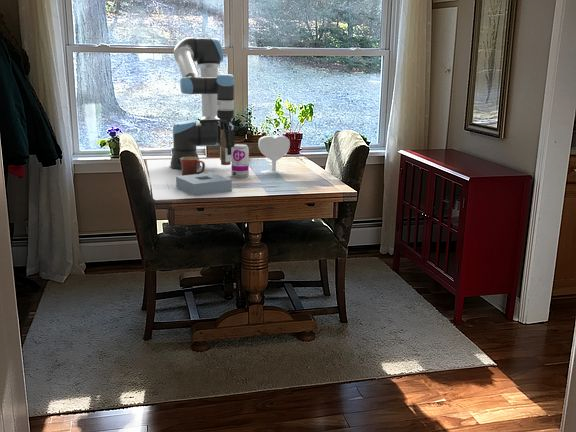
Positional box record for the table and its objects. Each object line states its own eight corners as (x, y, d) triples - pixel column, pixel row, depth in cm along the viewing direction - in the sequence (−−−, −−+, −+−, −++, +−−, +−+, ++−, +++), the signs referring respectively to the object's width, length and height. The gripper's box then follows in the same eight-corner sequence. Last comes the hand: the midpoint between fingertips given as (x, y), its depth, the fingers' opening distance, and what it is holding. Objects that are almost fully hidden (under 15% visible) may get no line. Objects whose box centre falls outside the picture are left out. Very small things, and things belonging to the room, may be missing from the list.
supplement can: (246, 178, 293) (246, 146, 289) (229, 177, 295) (229, 146, 291) (250, 174, 301) (250, 144, 297) (234, 173, 303) (234, 143, 299)
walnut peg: (219, 163, 284) (219, 129, 279) (227, 162, 286) (227, 128, 282) (223, 165, 281) (223, 130, 276) (232, 164, 283) (232, 129, 278)
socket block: (176, 187, 272) (175, 176, 270) (212, 183, 281) (212, 172, 280) (194, 195, 257) (193, 184, 256) (231, 190, 267) (231, 179, 266)
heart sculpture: (287, 170, 314) (288, 135, 309) (289, 172, 309) (290, 136, 304) (257, 171, 310) (257, 135, 305) (259, 173, 306) (259, 136, 301)
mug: (177, 181, 284) (176, 159, 282) (186, 177, 292) (185, 156, 290) (200, 183, 281) (200, 161, 278) (208, 179, 289) (208, 158, 286)
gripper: (209, 107, 281) (209, 158, 288) (227, 112, 267) (227, 164, 274) (223, 106, 285) (223, 156, 292) (242, 111, 271) (242, 163, 278)
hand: (225, 160), depth 283 cm, fingers closed on walnut peg, 4 cm apart
